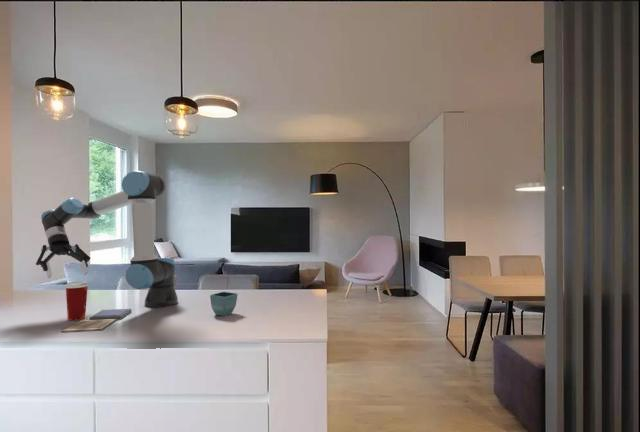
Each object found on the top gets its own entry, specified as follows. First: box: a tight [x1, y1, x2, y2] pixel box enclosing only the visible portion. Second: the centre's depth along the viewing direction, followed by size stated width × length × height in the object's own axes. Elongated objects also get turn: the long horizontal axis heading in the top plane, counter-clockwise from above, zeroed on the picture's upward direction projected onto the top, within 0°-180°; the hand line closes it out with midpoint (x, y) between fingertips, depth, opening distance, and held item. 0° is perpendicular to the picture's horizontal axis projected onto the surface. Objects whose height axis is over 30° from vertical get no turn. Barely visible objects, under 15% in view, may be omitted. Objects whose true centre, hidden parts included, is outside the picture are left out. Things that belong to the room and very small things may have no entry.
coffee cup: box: [64, 281, 89, 321], centre depth 144 cm, size 8×8×15 cm
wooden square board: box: [61, 319, 119, 333], centre depth 134 cm, size 14×14×1 cm
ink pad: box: [88, 308, 132, 320], centre depth 148 cm, size 12×12×2 cm
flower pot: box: [209, 291, 238, 317], centre depth 152 cm, size 9×9×9 cm
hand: (68, 274), depth 150 cm, fingers open, 13 cm apart
